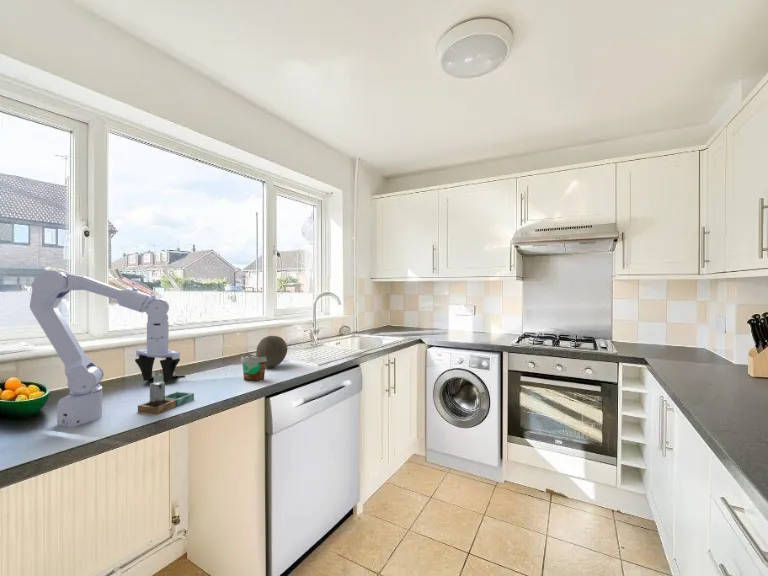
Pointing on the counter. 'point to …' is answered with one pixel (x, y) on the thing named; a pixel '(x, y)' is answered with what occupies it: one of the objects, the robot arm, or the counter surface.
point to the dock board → (166, 403)
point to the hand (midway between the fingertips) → (157, 380)
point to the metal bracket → (161, 377)
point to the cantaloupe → (272, 350)
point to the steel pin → (157, 394)
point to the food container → (253, 367)
